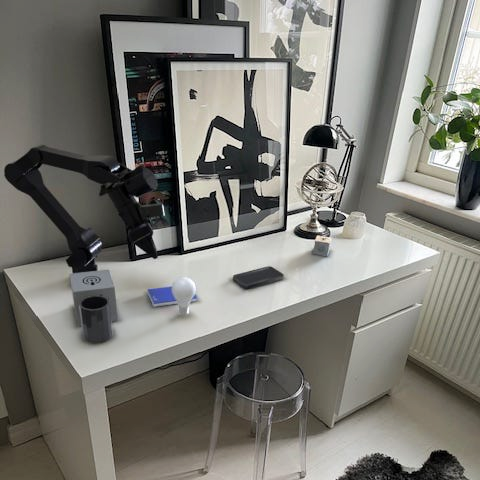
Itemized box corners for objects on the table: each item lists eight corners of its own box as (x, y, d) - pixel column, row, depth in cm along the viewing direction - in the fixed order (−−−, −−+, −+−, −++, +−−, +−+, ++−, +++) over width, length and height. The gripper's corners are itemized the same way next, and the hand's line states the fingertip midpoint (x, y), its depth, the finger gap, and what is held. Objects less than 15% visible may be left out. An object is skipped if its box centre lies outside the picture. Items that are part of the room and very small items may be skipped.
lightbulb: (197, 320, 133) (198, 283, 127) (173, 322, 132) (173, 285, 126) (193, 307, 138) (193, 272, 132) (170, 309, 137) (169, 273, 131)
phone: (231, 275, 153) (270, 265, 161) (231, 278, 154) (270, 268, 161) (246, 286, 148) (285, 275, 155) (245, 289, 149) (285, 278, 156)
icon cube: (117, 320, 131) (114, 287, 125) (77, 326, 127) (73, 292, 122) (111, 301, 138) (108, 269, 133) (74, 306, 135) (69, 273, 130)
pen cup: (81, 343, 121) (77, 310, 116) (84, 328, 127) (80, 295, 122) (111, 342, 122) (108, 309, 117) (113, 327, 128) (110, 294, 123)
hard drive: (153, 302, 136) (197, 296, 140) (147, 288, 143) (189, 283, 147) (153, 307, 137) (197, 301, 141) (147, 293, 144) (189, 288, 148)
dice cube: (329, 250, 176) (331, 237, 174) (327, 256, 172) (329, 243, 170) (315, 248, 177) (317, 235, 175) (313, 254, 173) (315, 240, 171)
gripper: (153, 192, 123) (184, 247, 129) (151, 186, 140) (179, 235, 146) (113, 214, 123) (146, 268, 129) (117, 205, 140) (145, 253, 146)
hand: (155, 254), depth 137 cm, fingers open, 9 cm apart
